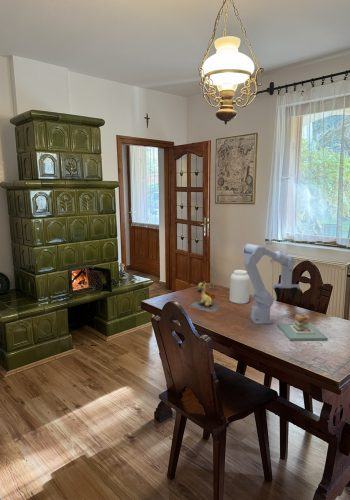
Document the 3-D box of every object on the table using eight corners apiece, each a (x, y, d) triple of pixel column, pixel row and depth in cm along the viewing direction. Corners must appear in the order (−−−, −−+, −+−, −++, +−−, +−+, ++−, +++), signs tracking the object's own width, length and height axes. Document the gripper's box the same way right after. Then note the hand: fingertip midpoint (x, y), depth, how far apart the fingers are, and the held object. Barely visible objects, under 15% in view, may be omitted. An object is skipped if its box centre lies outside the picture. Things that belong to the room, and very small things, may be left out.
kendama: (208, 293, 224) (196, 283, 242) (209, 301, 226) (197, 291, 244) (216, 291, 226) (203, 281, 244) (217, 299, 227) (204, 289, 246)
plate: (290, 340, 163) (290, 336, 163) (277, 326, 181) (277, 322, 180) (327, 340, 164) (327, 336, 163) (311, 325, 181) (311, 321, 181)
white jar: (242, 305, 213) (244, 274, 209) (225, 301, 221) (226, 270, 217) (252, 300, 222) (254, 270, 219) (235, 296, 230) (236, 267, 227)
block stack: (298, 332, 170) (299, 318, 168) (294, 328, 174) (295, 314, 173) (308, 332, 170) (309, 318, 168) (304, 328, 175) (305, 314, 173)
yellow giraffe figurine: (199, 300, 223) (199, 276, 219) (224, 306, 213) (225, 281, 210) (186, 308, 209) (187, 283, 206) (213, 314, 200) (214, 288, 197)
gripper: (275, 278, 186) (274, 302, 189) (302, 278, 187) (300, 302, 189) (271, 275, 193) (270, 298, 195) (297, 275, 194) (295, 298, 196)
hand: (284, 300), depth 193 cm, fingers open, 7 cm apart
